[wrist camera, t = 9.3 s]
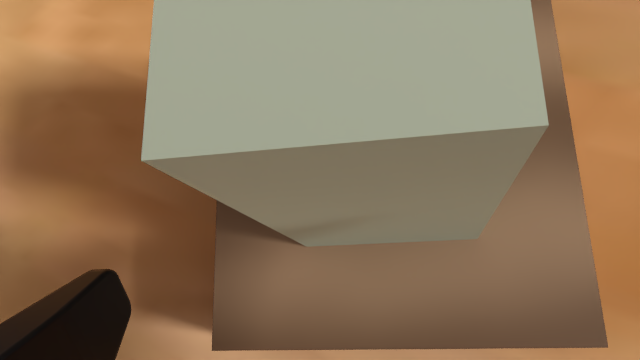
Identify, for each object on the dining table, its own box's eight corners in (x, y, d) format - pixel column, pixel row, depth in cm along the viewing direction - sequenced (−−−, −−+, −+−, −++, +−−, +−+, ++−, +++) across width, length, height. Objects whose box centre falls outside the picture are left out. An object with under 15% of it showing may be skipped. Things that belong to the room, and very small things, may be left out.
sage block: (477, 239, 15) (548, 125, 6) (306, 246, 17) (140, 160, 7) (461, 78, 17) (498, -217, 7) (304, 95, 18) (166, -142, 9)
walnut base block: (570, 339, 18) (608, 347, 14) (253, 343, 20) (211, 350, 16) (526, 41, 21) (547, -18, 17) (256, 75, 23) (222, 29, 20)
